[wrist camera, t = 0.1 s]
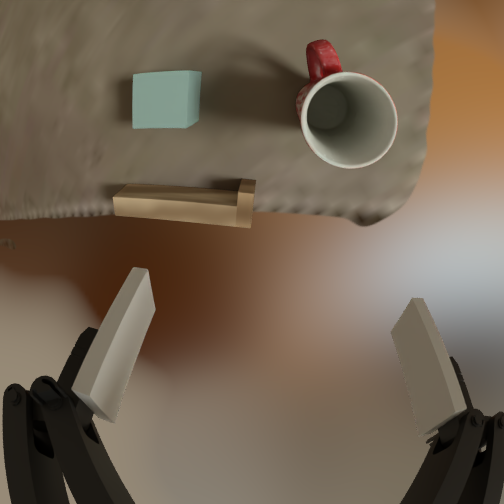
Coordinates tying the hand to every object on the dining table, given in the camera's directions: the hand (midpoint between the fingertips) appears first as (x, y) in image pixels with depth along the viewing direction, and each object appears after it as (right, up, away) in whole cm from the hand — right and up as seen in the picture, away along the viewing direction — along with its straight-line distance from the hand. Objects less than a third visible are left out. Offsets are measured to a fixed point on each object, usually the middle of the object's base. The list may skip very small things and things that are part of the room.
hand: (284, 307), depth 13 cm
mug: (+7, +23, +18) cm, 30 cm away
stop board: (-11, +12, +27) cm, 31 cm away
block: (-12, +23, +19) cm, 32 cm away
